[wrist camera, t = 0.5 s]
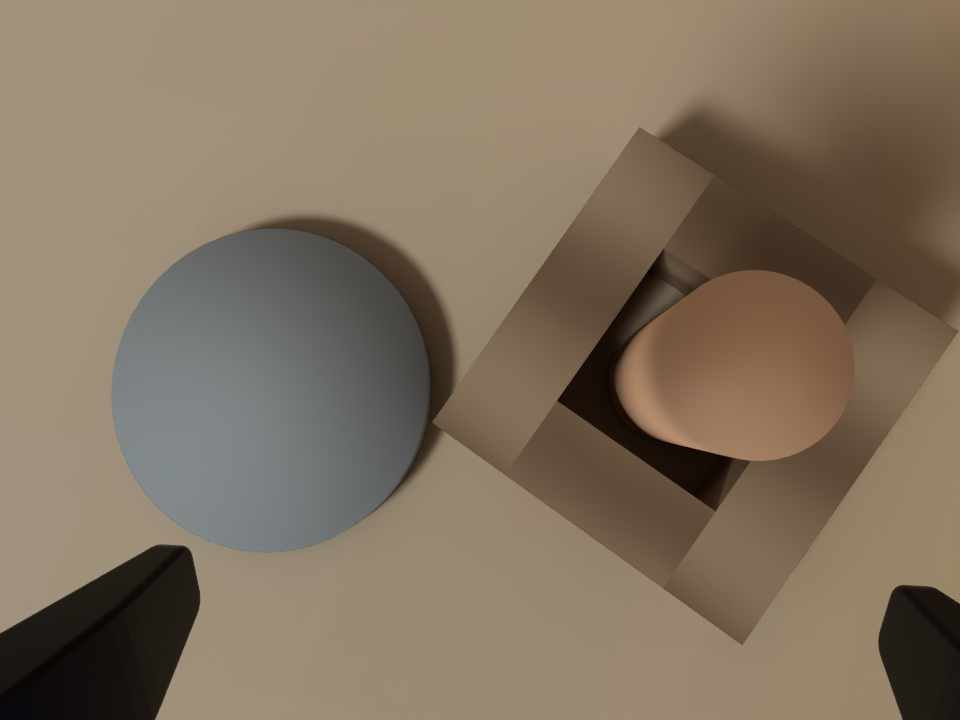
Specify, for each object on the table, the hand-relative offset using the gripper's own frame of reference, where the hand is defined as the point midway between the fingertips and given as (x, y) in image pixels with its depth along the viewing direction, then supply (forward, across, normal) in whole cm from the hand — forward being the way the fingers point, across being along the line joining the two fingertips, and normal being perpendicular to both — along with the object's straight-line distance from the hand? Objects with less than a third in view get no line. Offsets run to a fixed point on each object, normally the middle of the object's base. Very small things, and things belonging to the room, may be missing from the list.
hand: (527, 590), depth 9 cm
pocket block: (+15, -5, +4) cm, 16 cm away
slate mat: (+14, +9, +4) cm, 17 cm away
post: (+15, -5, +4) cm, 16 cm away
